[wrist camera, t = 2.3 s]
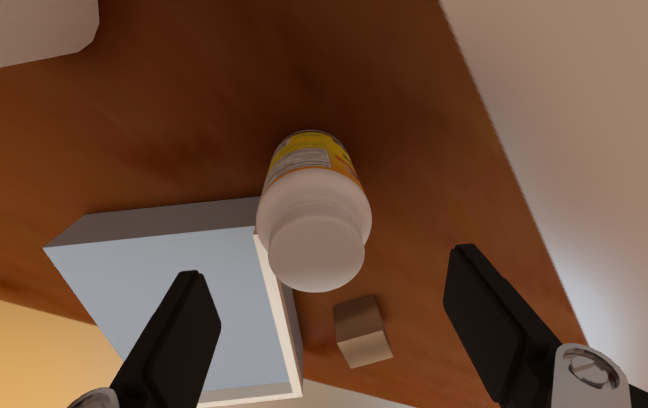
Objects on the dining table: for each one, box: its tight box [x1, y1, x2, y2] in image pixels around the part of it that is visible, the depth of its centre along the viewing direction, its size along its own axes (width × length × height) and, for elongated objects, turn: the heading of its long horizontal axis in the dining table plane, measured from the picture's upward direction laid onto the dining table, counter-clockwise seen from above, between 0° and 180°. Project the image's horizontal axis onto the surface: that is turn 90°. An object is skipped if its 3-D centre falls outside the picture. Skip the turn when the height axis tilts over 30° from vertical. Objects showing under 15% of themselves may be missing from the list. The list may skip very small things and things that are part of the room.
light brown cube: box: [333, 294, 393, 369], centre depth 27 cm, size 4×4×4 cm
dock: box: [43, 196, 303, 408], centre depth 24 cm, size 18×14×5 cm
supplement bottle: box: [256, 130, 372, 292], centre depth 16 cm, size 6×6×10 cm
